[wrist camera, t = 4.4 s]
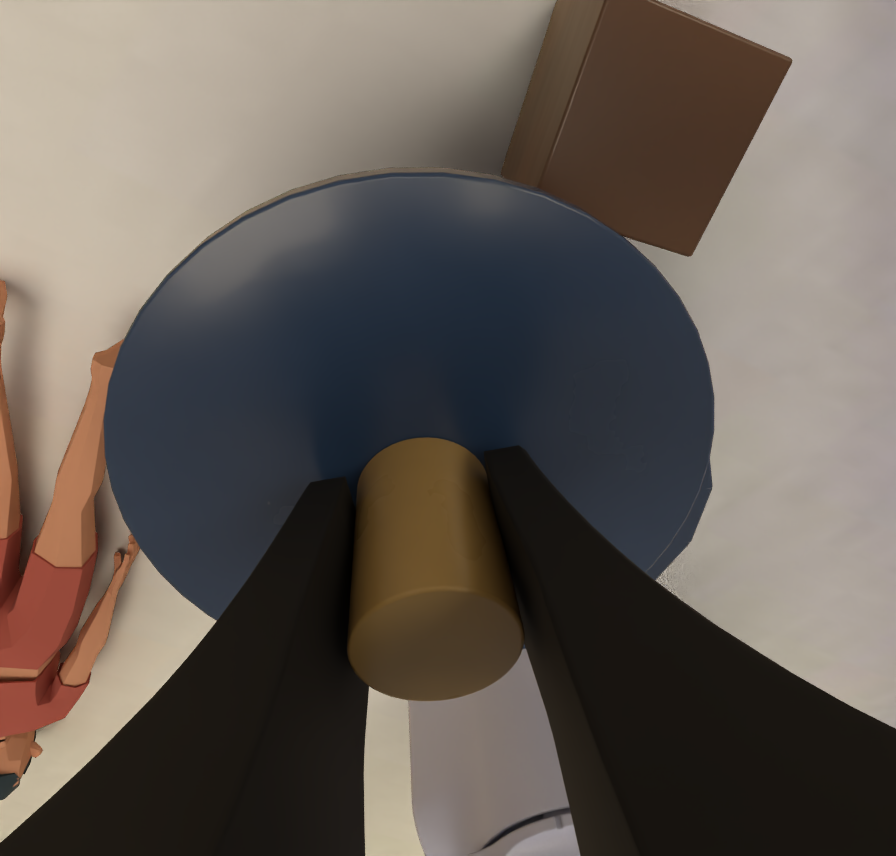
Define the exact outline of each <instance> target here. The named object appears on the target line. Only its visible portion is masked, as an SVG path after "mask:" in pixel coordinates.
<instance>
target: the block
mask: <svg viewBox="0 0 896 856" xmlns="http://www.w3.org/2000/svg"><path fill="white" fill-rule="evenodd" d="M791 64H792V59H791V58H790V57H787V56H785V55H783V54H780V53H778V52H776V51H773V50H771V49H769V48H766V47H764V46H762V45H759V44H757V43H755V42H752V41H750V40H748V39H745V38H743V37H741V36H738V35H736V34H734V33H731V32H729V31H727V30H724V29H722V28H720V27H717V26H715V25H713V24H710V23H708V22H706V21H703V20H701V19H699V18H696V17H694V16H692V15H689V14H687V13H685V12H682V11H680V10H678V9H675V8H673V7H671V6H668V5H666V4H664V3H661V2H659V1H657V0H557V2H556V4H555V7H554V10H553V13H552V16H551V19H550V22H549V26H548V29H547V32H546V35H545V38H544V41H543V44H542V47H541V50H540V53H539V56H538V59H537V62H536V65H535V68H534V71H533V75H532V78H531V81H530V84H529V87H528V90H527V93H526V96H525V99H524V102H523V105H522V108H521V111H520V114H519V117H518V121H517V124H516V127H515V130H514V133H513V136H512V139H511V142H510V145H509V148H508V151H507V154H506V157H505V160H504V163H503V166H502V170H501V176H502V177H503V178H506V179H509V180H513V181H516V182H520V183H523V184H527V185H530V186H534V187H537V188H539V189H541V190H544V191H546V192H548V193H550V194H552V195H555V196H557V197H559V198H561V199H563V200H565V201H568V202H570V203H572V204H574V205H576V206H579V207H580V208H582V209H583V210H585V211H586V212H588V213H589V214H591V215H592V216H594V217H595V218H597V219H598V220H600V221H602V222H603V223H605V224H606V225H608V226H609V227H611V228H612V229H614V230H615V231H617V232H618V233H619V234H620V235H622V236H624V237H627V238H630V239H633V240H636V241H640V242H643V243H646V244H649V245H652V246H655V247H659V248H662V249H665V250H668V251H671V252H674V253H678V254H681V255H684V256H687V257H689V256H692V254H693V252H694V250H695V248H696V247H697V245H698V243H699V241H700V239H701V237H702V235H703V233H704V231H705V229H706V227H707V225H708V223H709V222H710V220H711V218H712V216H713V214H714V212H715V210H716V208H717V206H718V204H719V202H720V200H721V198H722V197H723V195H724V193H725V191H726V189H727V187H728V185H729V183H730V181H731V179H732V177H733V175H734V173H735V171H736V170H737V168H738V166H739V164H740V162H741V160H742V158H743V156H744V154H745V152H746V150H747V148H748V146H749V145H750V143H751V141H752V139H753V137H754V135H755V133H756V131H757V129H758V127H759V125H760V123H761V121H762V120H763V118H764V116H765V114H766V112H767V110H768V108H769V106H770V104H771V102H772V100H773V98H774V96H775V94H776V93H777V91H778V89H779V87H780V85H781V83H782V81H783V79H784V77H785V75H786V73H787V71H788V69H789V68H790V66H791Z"/></svg>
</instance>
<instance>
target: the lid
mask: <svg viewBox="0 0 896 856" xmlns="http://www.w3.org/2000/svg"><path fill="white" fill-rule="evenodd" d="M103 424H104V449H105V459H106V464H107V469H108V473H109V478H110V483H111V488H112V491H113V494H114V496H115V499H116V501H117V504H118V506H119V509H120V511H121V514H122V517H123V519H124V521H125V523H126V525H127V526H128V528H129V530H130V532H131V533H132V535H133V537H134V539H135V540H136V542H137V544H138V545H139V547H140V549H141V550H142V551H143V553H144V554H145V555H146V556H147V558H148V559H149V560H150V561H151V563H152V564H153V565H154V567H155V568H156V569H157V570H158V572H159V573H160V574H161V575H162V576H163V577H164V578H165V579H166V580H167V581H168V582H169V583H170V584H171V585H172V586H173V587H174V588H175V589H176V590H177V591H178V592H179V593H180V594H181V595H182V596H184V597H185V598H186V599H187V600H189V601H190V602H191V603H193V604H194V605H195V606H197V607H198V608H199V609H200V610H202V611H203V612H204V613H206V614H207V615H208V616H210V617H212V618H213V619H215V620H218V619H219V617H220V616H221V615H222V613H223V612H224V611H225V609H226V608H227V607H228V605H229V604H230V603H231V601H232V600H233V598H234V597H235V596H236V594H237V593H238V592H239V590H240V589H241V588H242V586H243V585H244V583H245V582H246V581H247V579H248V578H249V576H250V575H251V573H252V572H253V570H254V569H255V567H256V566H257V564H258V563H259V561H260V560H261V558H262V557H263V555H264V554H265V552H266V551H267V549H268V548H269V546H270V545H271V543H272V542H273V540H274V539H275V537H276V535H277V534H278V532H279V531H280V529H281V527H282V526H283V524H284V523H285V521H286V519H287V518H288V516H289V515H290V513H291V511H292V510H293V508H294V506H295V505H296V503H297V502H298V500H299V498H300V497H301V495H302V494H303V492H304V490H305V489H306V488H307V486H308V485H309V483H310V482H315V481H320V480H326V479H332V478H337V477H343V476H345V477H346V481H347V484H348V487H349V490H350V493H351V496H352V499H353V502H354V506H355V509H356V514H355V529H354V545H353V560H352V576H351V591H350V607H349V622H348V638H347V655H348V659H349V662H350V665H351V667H352V668H353V670H354V672H355V673H356V675H357V676H358V677H359V678H360V679H361V680H362V681H363V682H364V683H366V684H367V685H368V686H370V687H371V688H373V689H375V690H377V691H379V692H381V693H383V694H386V695H389V696H392V697H395V698H399V699H405V700H411V701H441V700H448V699H454V698H458V697H463V696H466V695H469V694H472V693H475V692H477V691H480V690H482V689H484V688H486V687H488V686H490V685H492V684H493V683H495V682H496V681H498V680H499V679H501V678H502V677H503V676H504V675H505V674H507V673H508V672H509V670H510V669H511V668H512V667H513V666H514V665H515V663H516V662H517V660H518V659H519V657H520V655H521V652H522V650H523V649H526V647H525V644H524V639H525V633H524V626H523V622H522V618H521V614H520V610H519V606H518V601H517V597H516V593H515V589H514V585H513V581H512V576H511V572H510V568H509V564H508V560H507V556H506V552H505V548H504V544H503V540H502V537H501V533H500V530H499V527H498V523H497V519H496V515H495V511H494V507H493V502H492V498H491V494H490V490H489V486H488V479H487V472H486V466H485V459H484V452H483V451H489V450H495V449H500V448H506V447H511V446H517V445H519V446H521V447H522V448H524V449H525V450H526V451H527V453H528V454H529V456H530V457H531V458H532V460H533V461H534V462H535V464H536V465H537V466H538V467H539V469H540V470H541V471H542V472H543V474H544V475H545V476H546V477H547V478H548V479H549V481H550V482H551V483H552V484H553V485H554V486H555V487H556V489H557V490H558V491H559V492H560V493H561V494H562V495H563V496H564V497H565V498H566V499H567V501H568V502H569V503H570V504H571V505H572V506H573V507H574V508H575V509H576V510H577V511H578V512H579V513H580V514H581V515H582V516H583V517H584V518H585V519H586V520H587V521H588V522H589V523H590V524H591V525H592V526H593V527H594V528H595V529H596V530H597V531H598V532H600V533H601V534H602V535H603V536H604V537H605V538H606V539H607V540H608V541H609V542H610V543H611V544H613V545H614V546H615V547H616V548H617V549H618V550H619V551H620V552H622V553H623V554H624V555H625V556H626V557H627V558H628V559H630V560H631V561H632V562H633V563H634V564H636V565H637V566H638V567H639V568H640V569H641V570H643V571H644V572H645V573H646V572H647V571H648V570H649V569H650V568H651V567H652V566H653V564H654V563H655V562H656V561H657V559H658V558H659V557H660V556H661V555H662V553H663V552H664V551H665V550H666V548H667V547H668V546H669V545H670V544H671V542H672V541H673V539H674V537H675V536H676V534H677V533H678V531H679V530H680V528H681V526H682V525H683V523H684V522H685V520H686V519H687V517H688V515H689V513H690V510H691V508H692V506H693V504H694V502H695V500H696V498H697V496H698V493H699V491H700V489H701V486H702V482H703V479H704V476H705V473H706V470H707V466H708V463H709V459H710V453H711V447H712V440H713V434H714V392H713V386H712V380H711V374H710V368H709V362H708V359H707V356H706V353H705V351H704V348H703V345H702V342H701V339H700V336H699V333H698V330H697V328H696V326H695V324H694V322H693V321H692V319H691V317H690V315H689V313H688V311H687V310H686V308H685V306H684V304H683V302H682V300H681V299H680V297H679V296H678V294H677V293H676V292H675V290H674V289H673V288H672V287H671V285H670V284H669V283H668V281H667V280H666V279H665V278H664V276H663V275H662V274H661V273H660V271H659V270H658V269H657V267H656V266H655V265H654V264H653V263H652V262H650V261H649V260H648V259H647V258H646V257H645V256H644V255H643V254H642V253H641V252H640V251H638V250H637V249H636V248H635V247H634V246H633V245H632V244H631V243H630V242H629V241H628V240H626V239H625V238H624V237H623V236H622V235H620V234H619V233H618V232H617V231H615V230H614V229H612V228H611V227H609V226H608V225H606V224H605V223H603V222H602V221H600V220H598V219H597V218H595V217H594V216H592V215H591V214H589V213H588V212H586V211H585V210H583V209H582V208H580V207H579V206H576V205H574V204H572V203H570V202H568V201H565V200H563V199H561V198H559V197H557V196H555V195H552V194H550V193H548V192H546V191H544V190H541V189H539V188H537V187H534V186H530V185H527V184H523V183H520V182H516V181H513V180H509V179H506V178H502V177H499V176H496V175H492V174H486V173H479V172H472V171H464V170H457V169H450V168H443V167H410V168H385V169H378V170H371V171H364V172H358V173H351V174H344V175H339V176H335V177H332V178H329V179H325V180H322V181H319V182H315V183H312V184H309V185H305V186H302V187H299V188H295V189H292V190H290V191H288V192H285V193H283V194H281V195H279V196H277V197H275V198H273V199H270V200H268V201H266V202H264V203H262V204H260V205H258V206H255V207H253V208H251V209H249V210H247V211H245V212H244V213H242V214H241V215H239V216H238V217H236V218H235V219H233V220H232V221H230V222H229V223H227V224H226V225H224V226H223V227H221V228H220V229H218V230H217V231H215V232H214V233H212V234H211V235H209V236H208V237H207V238H206V239H205V240H204V241H202V242H201V243H200V244H199V245H198V246H197V247H196V248H195V249H194V250H193V251H192V252H191V253H189V254H188V255H187V256H186V257H185V258H184V259H183V260H182V261H181V262H180V263H179V264H178V265H176V266H175V267H174V268H173V269H172V270H171V271H170V272H169V273H168V274H167V275H166V277H165V278H164V279H163V281H162V282H161V283H160V284H159V286H158V287H157V288H156V290H155V291H154V292H153V293H152V295H151V296H150V297H149V299H148V300H147V301H146V302H145V304H144V305H143V306H142V308H141V309H140V310H139V312H138V314H137V316H136V318H135V320H134V322H133V323H132V325H131V327H130V329H129V331H128V333H127V335H126V337H125V338H124V340H123V342H122V344H121V346H120V349H119V352H118V355H117V358H116V361H115V364H114V367H113V370H112V373H111V376H110V380H109V383H108V389H107V397H106V404H105V411H104V418H103Z"/></svg>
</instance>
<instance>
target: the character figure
mask: <svg viewBox="0 0 896 856" xmlns="http://www.w3.org/2000/svg"><path fill="white" fill-rule="evenodd" d="M6 300H7V291H6V285H5V281H0V800H3V799H5V798H6V797H7V796H8V795H9V794H10V793H11V792H12V791H14V790H15V789H16V788H17V787H18V786H19V784H20V779H21V777H22V775H23V774H25V773H26V771H27V769H28V767H29V765H30V762H31V759H32V757H35V758H36V757H37V756H39V755H40V754H41V753H42V751H43V750H42V748H41V747H40V746H39V745H38V744H37V743H36V742H35V738H36V729H39V728H41V727H44V726H46V725H48V724H51V723H53V722H56V721H58V720H61V719H63V718H65V717H66V715H67V714H68V713H69V711H70V710H71V709H72V707H73V706H74V705H75V703H76V702H77V701H78V699H79V698H80V696H81V695H82V693H83V692H84V690H85V688H86V687H87V685H88V684H89V680H90V676H91V669H92V667H93V664H94V662H95V659H96V657H97V655H98V654H99V652H100V651H101V649H102V648H103V646H104V645H105V643H106V640H107V637H108V634H109V629H110V625H111V620H112V616H113V611H114V606H115V602H116V597H117V593H118V590H119V589H120V587H121V585H122V583H123V581H124V580H125V578H126V576H127V573H128V571H129V569H130V567H131V565H132V562H133V561H134V559H135V557H136V555H137V553H138V551H139V549H140V547H139V545H138V544H137V542H136V540H135V539H134V537H133V535H132V534H131V535H130V536H128V537H129V544H128V551H127V553H126V554H125V557H124V561H123V563H122V560H121V555H120V553H118V552H115V555H114V575H113V580H112V582H111V583H110V586H109V588H108V589H107V591H106V592H105V594H104V596H103V597H102V598H101V599H100V601H99V602H98V603H97V605H96V606H95V608H94V610H93V611H92V613H91V614H90V616H89V618H88V619H87V621H86V623H85V624H84V626H83V627H82V629H81V631H80V634H79V638H78V641H77V644H76V646H75V647H74V649H73V650H72V652H71V653H70V654H69V656H68V657H67V659H66V660H65V662H64V663H61V664H60V666H59V669H58V665H59V659H60V652H59V649H61V648H62V647H63V646H64V645H65V644H66V643H67V642H68V640H69V639H70V637H71V635H72V634H73V632H74V630H75V628H76V627H77V625H78V622H79V619H80V616H81V613H82V610H83V607H84V605H85V602H86V599H87V596H88V593H89V590H90V586H91V581H92V577H93V572H94V567H95V562H96V557H97V553H98V533H96V532H95V514H94V496H95V495H96V493H97V491H98V489H99V487H100V485H101V484H102V482H103V477H104V473H105V466H106V459H105V449H104V424H103V418H104V411H105V404H106V397H107V389H108V383H109V380H110V376H111V373H112V370H113V367H114V364H115V361H116V358H117V355H118V352H119V349H120V346H121V344H122V342H123V340H124V339H123V340H121V341H120V342H118V343H117V344H115V345H114V346H112V347H111V348H109V349H108V350H105V351H101V352H97V353H95V355H94V357H93V359H92V365H91V374H92V381H91V386H90V390H89V393H88V396H87V399H86V402H85V405H84V407H83V410H82V412H81V415H80V417H79V420H78V422H77V425H76V427H75V430H74V433H73V435H72V438H71V440H70V443H69V445H68V448H67V450H66V453H65V455H64V458H63V460H62V463H61V466H60V468H59V471H58V475H57V479H56V484H55V490H54V497H53V501H52V504H51V507H50V509H49V512H48V514H47V516H46V519H45V521H44V523H43V526H42V528H41V531H40V533H39V535H38V536H37V537H36V538H35V539H34V542H33V545H32V549H31V552H30V556H29V559H28V562H27V566H26V569H25V572H24V576H21V574H20V571H19V564H20V548H21V535H22V522H23V515H21V514H20V499H19V483H18V466H17V460H16V455H15V447H14V440H13V434H12V428H11V422H10V416H9V410H8V404H7V398H6V392H5V386H4V380H3V374H2V368H1V344H2V341H3V337H4V332H5V320H4V318H3V314H4V309H5V304H6ZM57 670H58V671H57Z"/></svg>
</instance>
